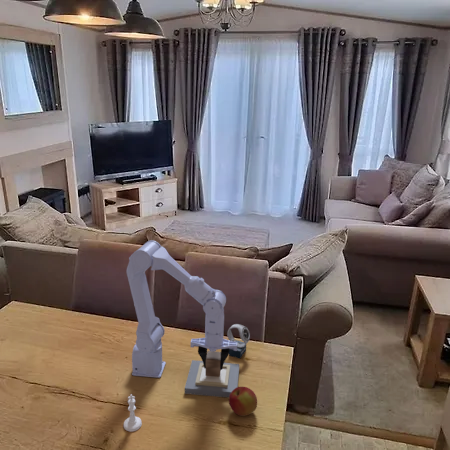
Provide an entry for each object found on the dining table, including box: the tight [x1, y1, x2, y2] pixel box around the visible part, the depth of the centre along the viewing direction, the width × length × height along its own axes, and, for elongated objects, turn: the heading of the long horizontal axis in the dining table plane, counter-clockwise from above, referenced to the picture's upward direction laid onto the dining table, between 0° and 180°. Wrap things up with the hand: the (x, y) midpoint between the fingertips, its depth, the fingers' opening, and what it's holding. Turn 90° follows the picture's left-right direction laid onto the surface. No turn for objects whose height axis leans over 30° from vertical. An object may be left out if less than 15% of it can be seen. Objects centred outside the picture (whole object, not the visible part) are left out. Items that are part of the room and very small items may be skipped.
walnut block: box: [206, 350, 221, 377], centre depth 131 cm, size 4×4×6 cm
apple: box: [228, 386, 258, 417], centre depth 119 cm, size 8×8×8 cm
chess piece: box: [123, 393, 143, 432], centre depth 113 cm, size 5×5×10 cm
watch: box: [226, 323, 251, 360], centre depth 146 cm, size 6×8×11 cm
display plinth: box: [184, 359, 240, 398], centre depth 133 cm, size 16×14×3 cm
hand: (213, 367), depth 132 cm, fingers closed on walnut block, 4 cm apart
